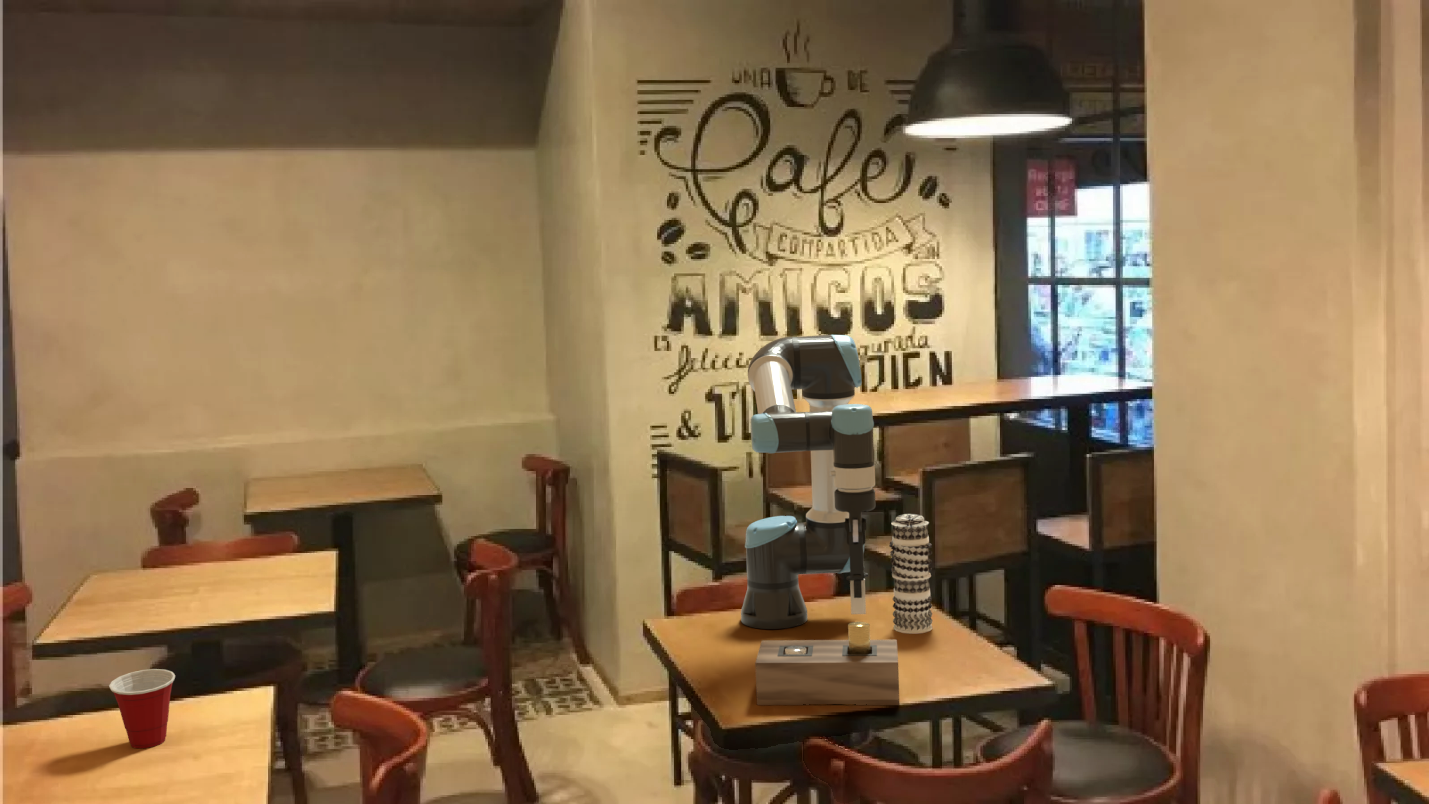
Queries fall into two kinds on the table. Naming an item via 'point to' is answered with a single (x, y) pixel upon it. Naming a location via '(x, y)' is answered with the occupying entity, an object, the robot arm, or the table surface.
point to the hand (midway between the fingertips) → (858, 613)
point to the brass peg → (859, 638)
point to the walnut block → (827, 673)
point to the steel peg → (795, 650)
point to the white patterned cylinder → (911, 574)
